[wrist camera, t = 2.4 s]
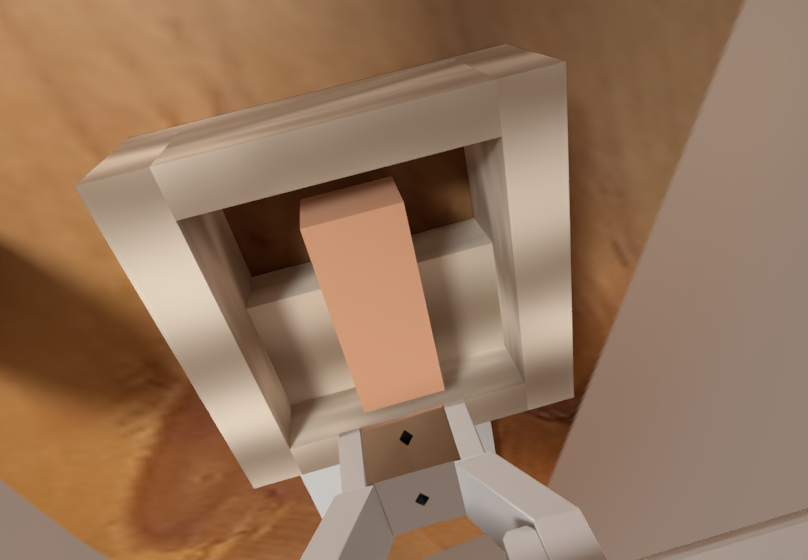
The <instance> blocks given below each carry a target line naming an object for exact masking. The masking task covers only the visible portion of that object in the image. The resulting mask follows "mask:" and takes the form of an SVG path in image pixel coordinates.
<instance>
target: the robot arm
mask: <svg viewBox="0 0 808 560" xmlns="http://www.w3.org/2000/svg"><path fill="white" fill-rule="evenodd" d="M338 446H339V461H340V475H341V490H342V494H339V495H336V496H335V497H334V499H333V501H332V503H331V505H330V506H329V508H328V510H327V512H326V514H325V515H324V517H323V519H322V521H321V523H320V524H319V526H318V528H317V530H316V532H315V534H314V535H313V537H312V539H311V541H310V543H309V544H308V546H307V548H306V550H305V552H304V553H303V555H302V557H301V559H300V560H387V558H388V555H389V552H390V549H391V546H392V543H393V540H394V538H393V536H396V535H399V534H402V533H405V532H409V531H412V530H415V529H418V528H421V527H424V526H427V525H430V524H434V523H438V522H442V521H446V520H450V519H453V518H457V517H461V516H465V515H467V517H468V518H469V519H470V520H471V521H472V522H473V523H474V524H475V525H476V526H477V527H478V528H479V529H481V530H482V531H483V532H484V533H485V534H486V535H487V536H488V537H489V538H490V539H491V540H492V541H493V542H494V543H496V544H497V545H498V546H499V547H500V548H501V549H502V550H503V551H504V552H505V555H506V560H607V559H606V557H605V556H604V554H603V552H602V550H601V548H600V546H599V544H598V542H597V541H596V539H595V537H594V535H593V533H592V531H591V529H590V527H589V526H588V524H587V522H586V520H585V518H584V516H583V514H582V513H581V511H580V509H579V508H578V507H576V506H575V505H573V504H572V503H570V502H568V501H567V500H565V499H563V498H562V497H561V496H559V495H558V494H556V493H555V492H553V491H552V490H550V489H549V488H547V487H546V486H544V485H543V484H541V483H540V482H538V481H537V480H535V479H534V478H532V477H531V476H529V475H528V474H526V473H525V472H523V471H521V470H520V469H518V468H517V467H515V466H514V465H512V464H511V463H509V462H508V461H506V460H505V459H503V458H502V457H500V456H499V455H497V454H496V453H494V452H493V451H490V452H485V450H484V447H483V445H482V442H481V440H480V437H479V435H478V432H477V430H476V427H475V425H474V422H473V420H472V417H471V415H470V412H469V410H468V407H467V405H466V402H465V401H464V400H463V399H460V400H457V401H453V402H450V403H446V404H443V406H442V405H439V406H436V407H432V408H429V409H426V410H422V411H419V412H415V413H412V414H409V415H405V416H402V417H399V418H396V419H392V420H388V421H384V422H380V423H376V424H372V425H368V426H364V427H361V428H358V429H354V430H350V431H346V432H342V433H339V437H338ZM429 523H430V524H429ZM637 560H808V508H807V509H803V510H801V511H797V512H794V513H790V514H787V515H783V516H780V517H777V518H773V519H770V520H767V521H764V522H760V523H757V524H754V525H750V526H747V527H743V528H740V529H737V530H734V531H730V532H727V533H724V534H720V535H717V536H713V537H710V538H707V539H703V540H700V541H697V542H693V543H691V544H687V545H684V546H680V547H677V548H673V549H670V550H667V551H664V552H660V553H657V554H654V555H650V556H647V557H643V558H640V559H637Z"/></svg>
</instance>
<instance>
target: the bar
mask: <svg viewBox="0 0 808 560" xmlns="http://www.w3.org/2000/svg"><path fill="white" fill-rule="evenodd" d="M300 231H301V234H302V237H303V240H304V243H305V245H306V248H307V251H308V254H309V257H310V260H311V262H312V265H313V268H314V271H315V274H316V277H317V279H318V282H319V285H320V288H321V291H322V294H323V296H324V299H325V302H326V305H327V308H328V311H329V313H330V316H331V319H332V322H333V325H334V328H335V330H336V333H337V336H338V339H339V342H340V345H341V348H342V350H343V353H344V356H345V359H346V362H347V365H348V367H349V370H350V373H351V376H352V379H353V382H354V384H355V387H356V390H357V393H358V396H359V399H360V401H361V404H362V407H363V410H364V413H366V412H370V411H373V410H377V409H380V408H384V407H387V406H391V405H394V404H398V403H402V402H405V401H409V400H412V399H416V398H419V397H423V396H426V395H430V394H434V393H437V392H441V391H444V390H445V388H444V384H443V379H442V375H441V370H440V366H439V361H438V356H437V352H436V347H435V343H434V338H433V334H432V329H431V324H430V320H429V315H428V311H427V306H426V302H425V297H424V292H423V288H422V283H421V279H420V274H419V269H418V265H417V260H416V256H415V251H414V247H413V242H412V237H411V233H410V228H409V224H408V219H407V215H406V210H405V205H404V201H403V199H402V197H401V195H400V193H399V191H398V189H397V187H396V184H395V182H394V180H393V178H392V176H389V177H385V178H382V179H378V180H374V181H370V182H366V183H362V184H358V185H355V186H351V187H347V188H343V189H339V190H335V191H332V192H328V193H324V194H320V195H316V196H312V197H308V198H305V199H301V200H300Z"/></svg>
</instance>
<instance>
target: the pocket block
mask: <svg viewBox="0 0 808 560" xmlns="http://www.w3.org/2000/svg"><path fill="white" fill-rule="evenodd" d="M463 146H464V151H465V158H466V165H467V173H468V180H469V187H470V194H471V201H472V209H473V216H474V218H472V219H468V220H465V221H461V222H457V223H453V224H449V225H446V226H442V227H438V228H434V229H431V230H427V231H423V232H419V233H416V234H412V235H411V237H412V242H413V247H414V251H415V256H416V260H417V265H418V269H419V274H420V279H421V283H422V288H423V292H424V297H425V302H426V306H427V311H428V315H429V320H430V324H431V329H432V334H433V338H434V343H435V347H436V352H437V356H438V361H439V366H440V370H441V375H442V379H443V384H444V388H445V390H444V391H441V392H437V393H434V394H430V395H426V396H423V397H419V398H416V399H412V400H409V401H405V402H402V403H398V404H394V405H391V406H387V407H384V408H380V409H377V410H373V411H370V412H366V413H364V410H363V407H362V404H361V401H360V399H359V396H358V393H357V390H356V387H355V384H354V382H353V379H352V376H351V373H350V370H349V367H348V365H347V362H346V359H345V356H344V353H343V350H342V348H341V345H340V342H339V339H338V336H337V333H336V330H335V328H334V325H333V322H332V319H331V316H330V313H329V311H328V308H327V305H326V302H325V299H324V296H323V294H322V291H321V288H320V285H319V282H318V279H317V277H316V274H315V271H314V268H313V265H312V262H311V261H310V262H307V263H303V264H299V265H295V266H292V267H288V268H284V269H280V270H276V271H273V272H269V273H265V274H261V275H258V276H254V277H252V276H251V274H250V272H249V269H248V267H247V265H246V262H245V260H244V258H243V256H242V253H241V251H240V249H239V246H238V244H237V242H236V239H235V237H234V235H233V233H232V230H231V228H230V226H229V223H228V221H227V219H226V217H225V214H224V212H223V210H222V209H224V208H228V207H232V206H235V205H239V204H243V203H247V202H251V201H255V200H259V199H263V198H266V197H270V196H274V195H278V194H282V193H286V192H290V191H293V190H297V189H301V188H305V187H309V186H313V185H317V184H320V183H324V182H328V181H332V180H336V179H340V178H344V177H347V176H351V175H355V174H359V173H363V172H367V171H371V170H375V169H378V168H382V167H386V166H390V165H394V164H398V163H402V162H405V161H409V160H413V159H417V158H421V157H425V156H429V155H432V154H436V153H440V152H444V151H448V150H452V149H456V148H459V147H463ZM74 187H75V189H76V191H77V192H78V194H79V196H80V197H81V199H82V201H83V202H84V204H85V206H86V207H87V209H88V211H89V212H90V214H91V216H92V218H93V219H94V221H95V223H96V224H97V226H98V228H99V229H100V231H101V233H102V234H103V236H104V238H105V239H106V241H107V243H108V244H109V246H110V248H111V249H112V251H113V253H114V254H115V256H116V258H117V259H118V261H119V263H120V264H121V266H122V268H123V269H124V271H125V273H126V275H127V276H128V278H129V280H130V281H131V283H132V285H133V286H134V288H135V290H136V291H137V293H138V295H139V296H140V298H141V300H142V301H143V303H144V305H145V306H146V308H147V310H148V311H149V313H150V315H151V316H152V318H153V320H154V321H155V323H156V325H157V327H158V328H159V330H160V332H161V333H162V335H163V337H164V338H165V340H166V342H167V343H168V345H169V347H170V348H171V350H172V352H173V353H174V355H175V357H176V358H177V360H178V362H179V363H180V365H181V367H182V368H183V370H184V372H185V373H186V375H187V377H188V378H189V380H190V382H191V384H192V385H193V387H194V389H195V390H196V392H197V394H198V395H199V397H200V399H201V400H202V402H203V404H204V405H205V407H206V409H207V410H208V412H209V414H210V415H211V417H212V419H213V420H214V422H215V424H216V425H217V427H218V429H219V430H220V432H221V434H222V435H223V437H224V439H225V441H226V442H227V444H228V446H229V447H230V449H231V451H232V452H233V454H234V456H235V457H236V459H237V461H238V462H239V464H240V466H241V467H242V469H243V471H244V472H245V474H246V476H247V477H248V479H249V481H250V482H251V484H252V486H253V487H254V488H258V487H261V486H265V485H268V484H272V483H275V482H279V481H282V480H286V479H289V478H293V477H296V476H300V475H303V474H307V473H310V472H314V471H317V470H321V469H324V468H328V467H331V466H335V465H338V464H340V461H339V446H338V437H339V433H342V432H346V431H350V430H354V429H358V428H361V427H364V426H368V425H372V424H376V423H380V422H384V421H388V420H392V419H396V418H399V417H402V416H405V415H409V414H412V413H415V412H419V411H422V410H426V409H429V408H432V407H436V406H439V405H442V406H443V404H446V403H450V402H453V401H457V400H460V399H463V400H464V401H465V402H466V405H467V407H468V410H469V412H470V415H471V417H472V420H473V422H474V425H479V424H482V423H486V422H489V421H493V420H496V419H500V418H503V417H507V416H510V415H514V414H517V413H521V412H524V411H528V410H531V409H535V408H538V407H542V406H545V405H549V404H552V403H556V402H559V401H563V400H566V399H570V398H573V397H574V377H573V334H572V291H571V247H570V204H569V160H568V117H567V74H566V61H563V60H559V59H556V58H552V57H549V56H546V55H542V54H539V53H535V52H532V51H528V50H525V49H521V48H518V47H514V46H511V45H508V44H503V45H499V46H495V47H491V48H487V49H483V50H479V51H475V52H471V53H467V54H463V55H459V56H455V57H451V58H447V59H443V60H439V61H435V62H431V63H427V64H423V65H419V66H415V67H411V68H407V69H403V70H399V71H395V72H391V73H387V74H383V75H379V76H375V77H371V78H367V79H363V80H359V81H355V82H351V83H347V84H343V85H339V86H335V87H331V88H327V89H323V90H319V91H315V92H311V93H307V94H303V95H299V96H295V97H291V98H287V99H283V100H279V101H275V102H271V103H267V104H263V105H259V106H255V107H251V108H247V109H243V110H239V111H235V112H231V113H227V114H223V115H219V116H215V117H211V118H207V119H203V120H199V121H195V122H191V123H187V124H183V125H179V126H176V127H172V128H168V129H164V130H160V131H156V132H152V133H148V134H144V135H140V136H136V137H132V138H128V139H127V140H126V141H124V142H123V143H122V144H121V145H120V146H119V147H118V148H117V149H115V150H114V151H113V152H112V153H111V154H110V155H109V156H108V157H106V158H105V159H104V160H103V161H102V162H101V163H100V164H98V165H97V166H96V167H95V168H94V169H93V170H92V171H91V172H89V173H88V174H87V175H86V176H85V177H84V178H83V179H82V180H80V181H79V182H78V183H77V184H76V185H75V186H74Z"/></svg>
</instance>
